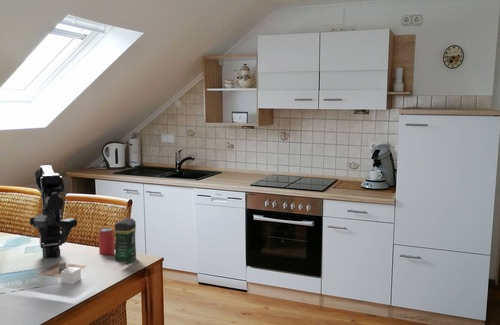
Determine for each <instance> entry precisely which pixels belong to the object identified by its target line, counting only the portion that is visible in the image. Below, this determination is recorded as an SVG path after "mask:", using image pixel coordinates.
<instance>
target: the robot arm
mask: <svg viewBox="0 0 500 325" xmlns="http://www.w3.org/2000/svg"><path fill="white" fill-rule="evenodd" d="M34 184H35V185H36V189H37V191H39V193H40V194H41V195H40V196H41V202H42V203H41V204H42V205H41V206H42V211H41V213H40V214H37V215H35V216H32V217H30V219H29V226H32V228H35V229H37V230H38V232H39V234H40V235H39V248H40V249H42V257H44V258H45V259H57V258H59V257H61V248H60V246H62V245H63V244H66V243H67V240H68V237H69V235H70V233H71V231H72V230H73V228H75V227H77V226H78V220H77V219H76V218H73V217H72V218H70V217H67V218H65V219H64V218H63V217H64V216H63V215H62V214H61V212H62V211H61V210H62V209H63V206H64V200H63V198H62V197H61V194H60V193H64V190H65V183H64V178H63V176H61V175H60V174H59V172H56V170H54V169H53V165H49V164H48V165H47V164H46V165H40V166H39V169H38V170H36V171H35V172H34Z"/></svg>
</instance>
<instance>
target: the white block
mask: <svg viewBox="0 0 500 325" xmlns="http://www.w3.org/2000/svg"><path fill="white" fill-rule="evenodd" d="M81 270H82V269H80V268H75V267H68V268H66V269H64V270H63V271H61V277H60V282H61V283H62V284H71V285H73V284H75V283H77V282H78V281H80V280H81V279H82V275H81V274H82V273H81V272H82V271H81Z"/></svg>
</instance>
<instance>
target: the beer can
mask: <svg viewBox="0 0 500 325" xmlns="http://www.w3.org/2000/svg"><path fill="white" fill-rule="evenodd" d="M113 229H114V228H112V227H103V228H101V229H99V232H98V248H99V252H98V253H99V255H102V256H108V257H109V256H110V257H113V256H115V231H114V230H113Z"/></svg>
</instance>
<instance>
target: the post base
mask: <svg viewBox="0 0 500 325" xmlns="http://www.w3.org/2000/svg"><path fill="white" fill-rule="evenodd" d="M68 267H75V268H80V269H81V270H82V269H83V268H84V269H85V268H86V267H87V265H83V264H82V265H81V264H74V263H68V262H66V261H60V262H57V263H56V264H54V265H52V266H50V267H48V268H46V269H44V270H43V271H40V272H38V275H41V276H42V275H43V276H48V277H49V276H50V277H55V278H61V271H63V270H64V269H66V268H68Z"/></svg>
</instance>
